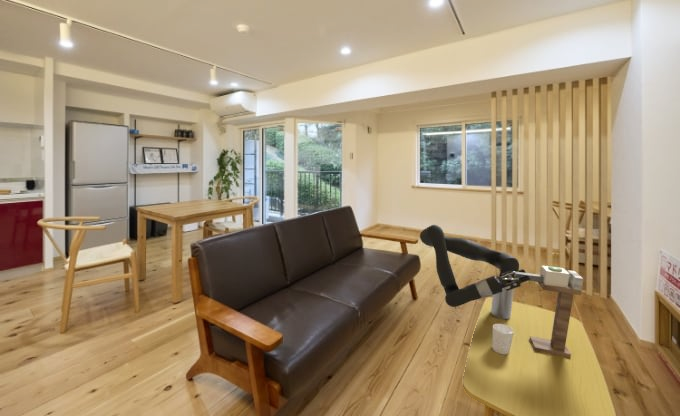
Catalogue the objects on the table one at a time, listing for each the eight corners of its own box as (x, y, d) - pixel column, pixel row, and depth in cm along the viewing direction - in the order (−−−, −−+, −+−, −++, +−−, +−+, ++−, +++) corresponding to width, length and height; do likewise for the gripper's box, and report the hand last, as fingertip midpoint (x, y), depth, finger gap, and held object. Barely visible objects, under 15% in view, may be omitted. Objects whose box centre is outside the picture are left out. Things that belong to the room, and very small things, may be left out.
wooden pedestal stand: (529, 338, 139) (539, 266, 133) (562, 345, 135) (574, 270, 129) (534, 350, 130) (545, 274, 124) (570, 357, 126) (583, 278, 120)
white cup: (490, 351, 129) (492, 330, 127) (490, 342, 136) (493, 321, 134) (511, 357, 125) (514, 335, 124) (510, 347, 132) (513, 326, 131)
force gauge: (512, 275, 136) (514, 261, 135) (561, 281, 130) (563, 266, 129) (516, 280, 129) (518, 266, 128) (567, 287, 123) (569, 272, 122)
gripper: (486, 285, 130) (527, 272, 124) (482, 273, 144) (519, 261, 138) (494, 301, 130) (535, 288, 124) (490, 288, 143) (526, 275, 137)
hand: (526, 274), depth 131 cm, fingers open, 6 cm apart
